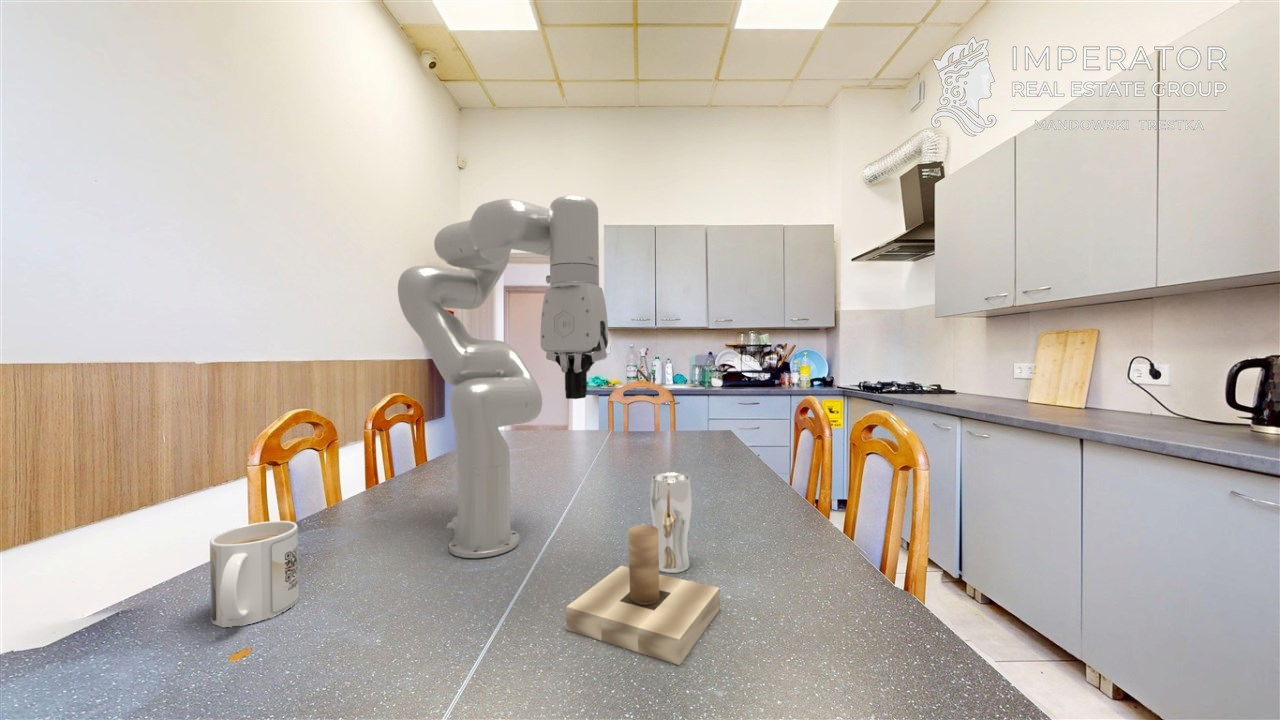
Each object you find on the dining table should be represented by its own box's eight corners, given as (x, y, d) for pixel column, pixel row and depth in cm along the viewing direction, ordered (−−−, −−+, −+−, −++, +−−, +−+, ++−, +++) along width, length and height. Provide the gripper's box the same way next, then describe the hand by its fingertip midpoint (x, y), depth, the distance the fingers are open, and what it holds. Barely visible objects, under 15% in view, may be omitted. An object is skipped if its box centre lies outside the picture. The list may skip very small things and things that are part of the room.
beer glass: (689, 576, 79) (689, 483, 78) (647, 572, 80) (646, 481, 80) (693, 558, 85) (693, 473, 85) (654, 555, 87) (653, 471, 87)
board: (566, 629, 63) (566, 606, 63) (621, 584, 76) (620, 565, 76) (679, 665, 56) (679, 639, 56) (719, 609, 68) (719, 587, 68)
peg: (624, 623, 65) (622, 532, 65) (638, 608, 69) (637, 523, 69) (651, 630, 63) (650, 537, 63) (665, 615, 67) (663, 527, 67)
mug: (318, 599, 72) (317, 524, 72) (226, 644, 61) (225, 556, 61) (268, 588, 76) (267, 517, 76) (173, 629, 64) (172, 546, 64)
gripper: (521, 280, 76) (522, 398, 76) (602, 271, 69) (603, 402, 69) (551, 286, 83) (552, 395, 83) (628, 279, 75) (629, 397, 76)
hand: (576, 397), depth 76 cm, fingers closed
